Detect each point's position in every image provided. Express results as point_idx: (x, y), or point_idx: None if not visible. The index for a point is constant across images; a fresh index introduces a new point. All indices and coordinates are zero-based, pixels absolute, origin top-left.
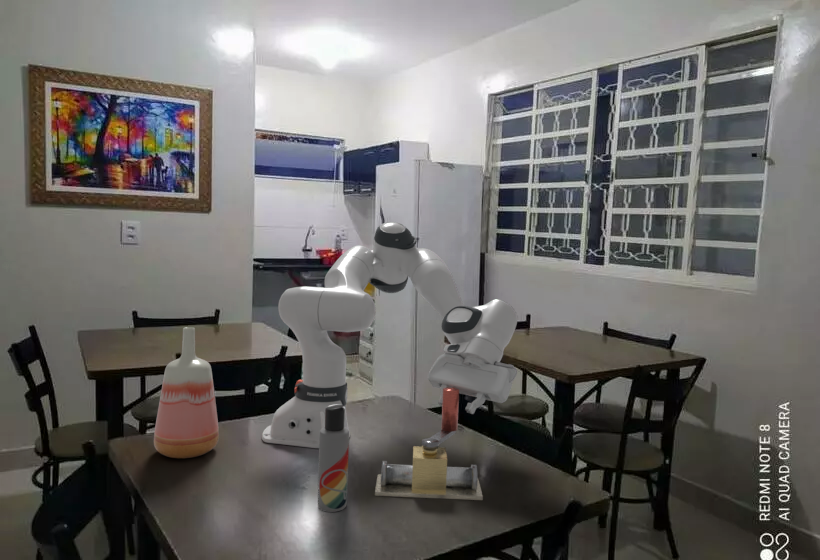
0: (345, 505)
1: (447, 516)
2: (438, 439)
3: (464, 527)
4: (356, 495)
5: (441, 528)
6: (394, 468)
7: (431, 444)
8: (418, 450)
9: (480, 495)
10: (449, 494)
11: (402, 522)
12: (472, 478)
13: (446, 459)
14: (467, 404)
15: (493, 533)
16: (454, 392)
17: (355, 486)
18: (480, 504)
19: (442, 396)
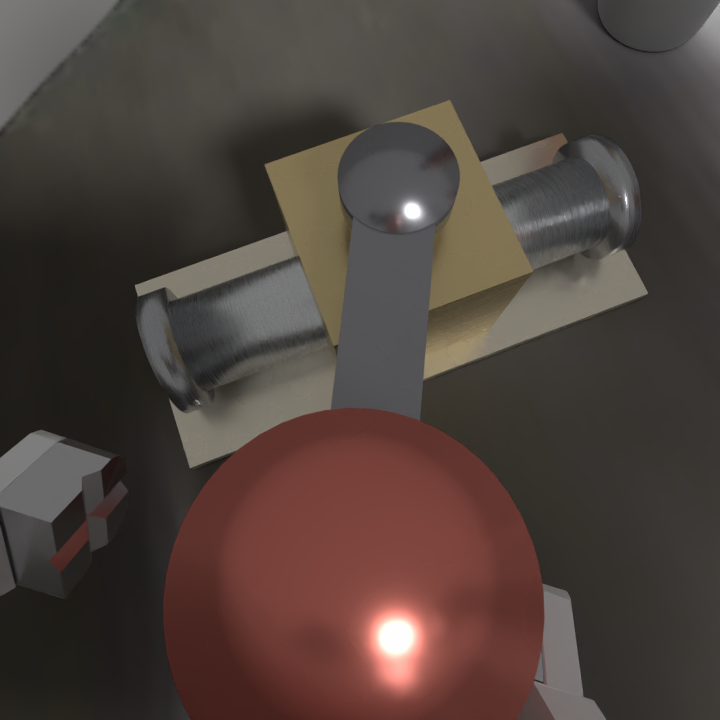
0: (600, 5)
1: (240, 111)
2: (360, 243)
3: (165, 67)
4: (621, 116)
5: (237, 31)
6: (547, 174)
7: (370, 130)
8: (472, 219)
9: (145, 289)
10: (273, 241)
11: (371, 13)
12: (169, 296)
13: (269, 165)
14: (71, 494)
15: (65, 71)
16: (236, 455)
17: (673, 182)
18: (143, 252)
19: (543, 674)
